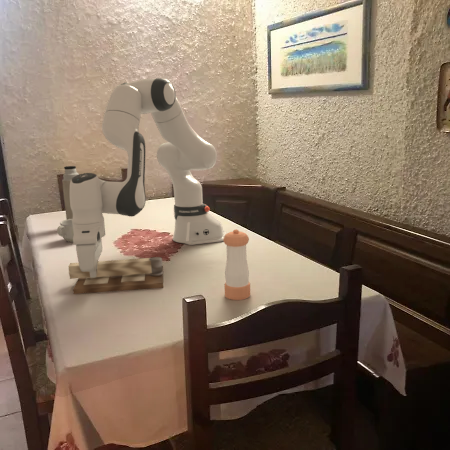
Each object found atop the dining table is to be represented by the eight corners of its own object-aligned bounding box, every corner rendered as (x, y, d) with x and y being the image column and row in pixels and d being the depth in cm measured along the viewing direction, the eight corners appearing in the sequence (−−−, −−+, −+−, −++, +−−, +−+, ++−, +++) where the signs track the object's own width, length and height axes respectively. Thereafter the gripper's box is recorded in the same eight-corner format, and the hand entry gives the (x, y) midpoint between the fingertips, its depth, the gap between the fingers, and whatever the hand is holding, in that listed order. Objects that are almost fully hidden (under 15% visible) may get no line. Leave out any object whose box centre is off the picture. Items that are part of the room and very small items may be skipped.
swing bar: (162, 268, 153) (161, 256, 152) (162, 272, 149) (161, 260, 148) (71, 274, 150) (70, 262, 149) (69, 279, 146) (68, 266, 145)
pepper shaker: (249, 289, 140) (248, 226, 135) (251, 299, 133) (250, 232, 128) (224, 290, 140) (222, 226, 135) (225, 300, 133) (223, 233, 128)
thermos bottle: (88, 225, 221) (82, 165, 214) (80, 230, 214) (73, 167, 207) (73, 225, 223) (66, 165, 216) (64, 229, 215) (57, 167, 209)
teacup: (79, 235, 206) (77, 217, 204) (94, 239, 199) (92, 220, 197) (49, 242, 196) (47, 223, 194) (64, 247, 189) (62, 227, 187)
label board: (163, 269, 159) (162, 263, 159) (163, 287, 144) (162, 280, 143) (82, 275, 156) (81, 269, 156) (73, 294, 141) (72, 287, 140)
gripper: (84, 222, 148) (88, 265, 152) (71, 240, 129) (76, 289, 132) (104, 221, 149) (108, 263, 152) (95, 239, 129) (100, 287, 133)
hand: (94, 275), depth 142 cm, fingers closed
